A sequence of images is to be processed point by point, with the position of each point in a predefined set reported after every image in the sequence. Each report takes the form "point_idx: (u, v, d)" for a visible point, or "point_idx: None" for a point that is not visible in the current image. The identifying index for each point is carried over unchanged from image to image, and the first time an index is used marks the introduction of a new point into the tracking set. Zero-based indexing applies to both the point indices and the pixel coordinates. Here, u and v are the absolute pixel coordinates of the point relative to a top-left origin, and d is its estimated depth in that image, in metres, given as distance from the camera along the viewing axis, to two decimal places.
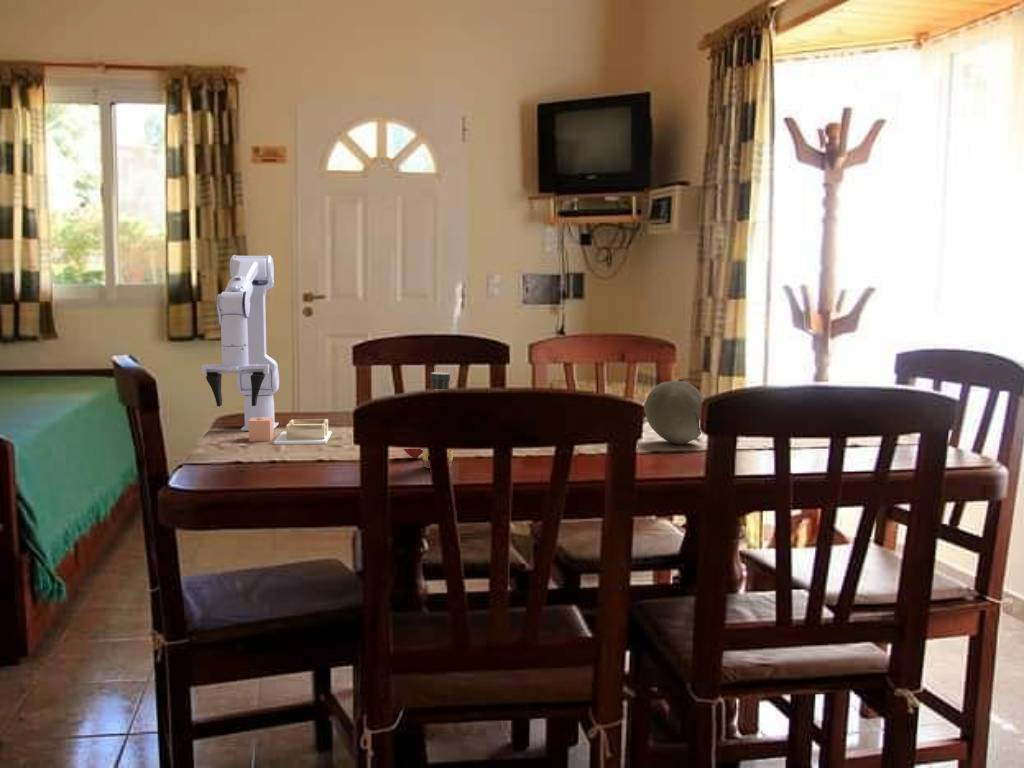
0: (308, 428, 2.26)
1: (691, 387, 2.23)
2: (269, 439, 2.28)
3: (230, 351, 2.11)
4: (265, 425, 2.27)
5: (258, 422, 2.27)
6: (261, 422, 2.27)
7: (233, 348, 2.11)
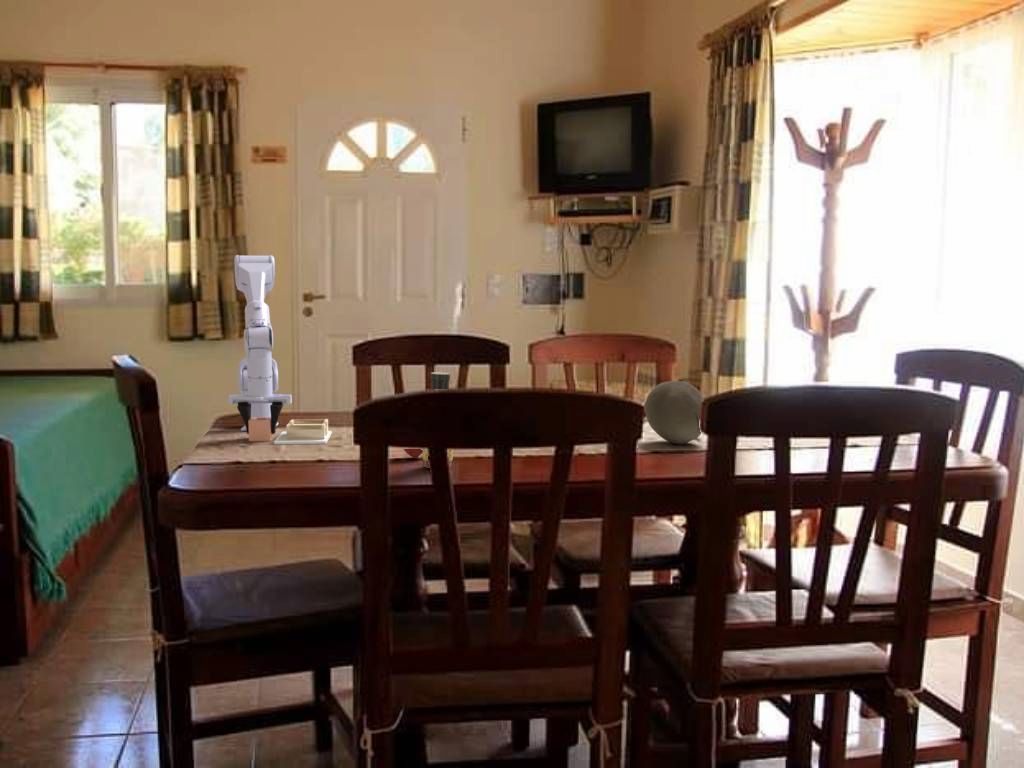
0: (308, 428, 2.26)
1: (691, 387, 2.23)
2: (269, 439, 2.28)
3: (255, 383, 2.26)
4: (265, 424, 2.27)
5: (258, 422, 2.27)
6: (261, 422, 2.27)
7: (258, 380, 2.25)
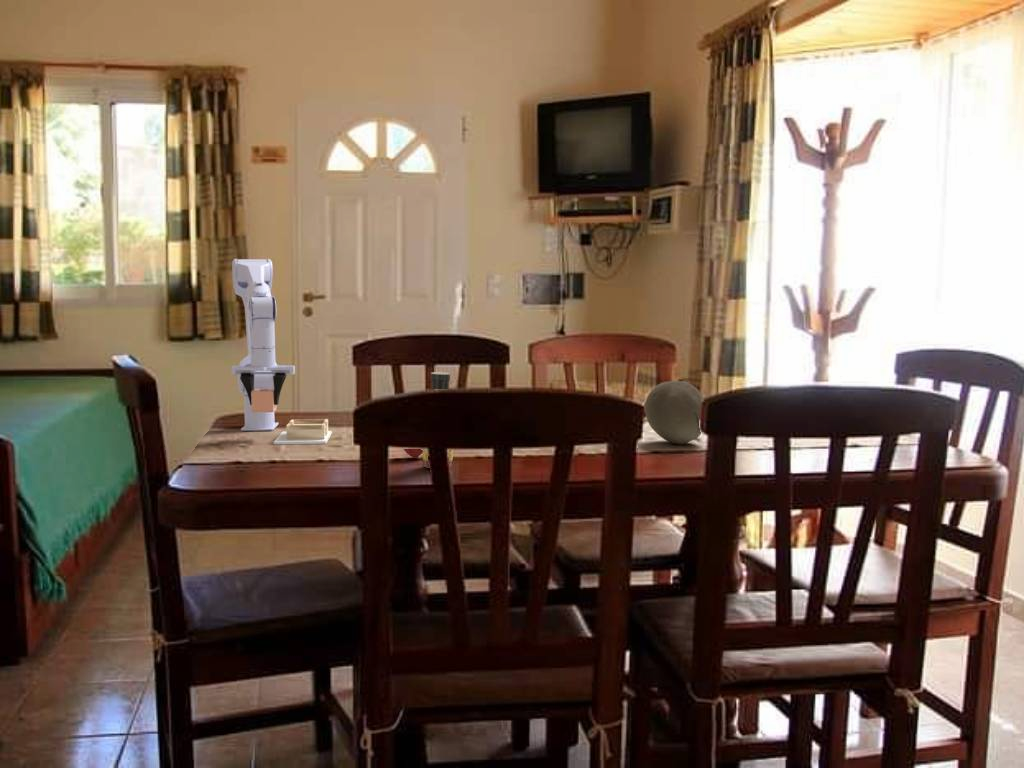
0: (308, 428, 2.26)
1: (691, 387, 2.23)
2: (272, 410, 2.27)
3: (258, 353, 2.25)
4: (268, 396, 2.26)
5: (261, 393, 2.26)
6: (264, 393, 2.26)
7: (261, 350, 2.25)
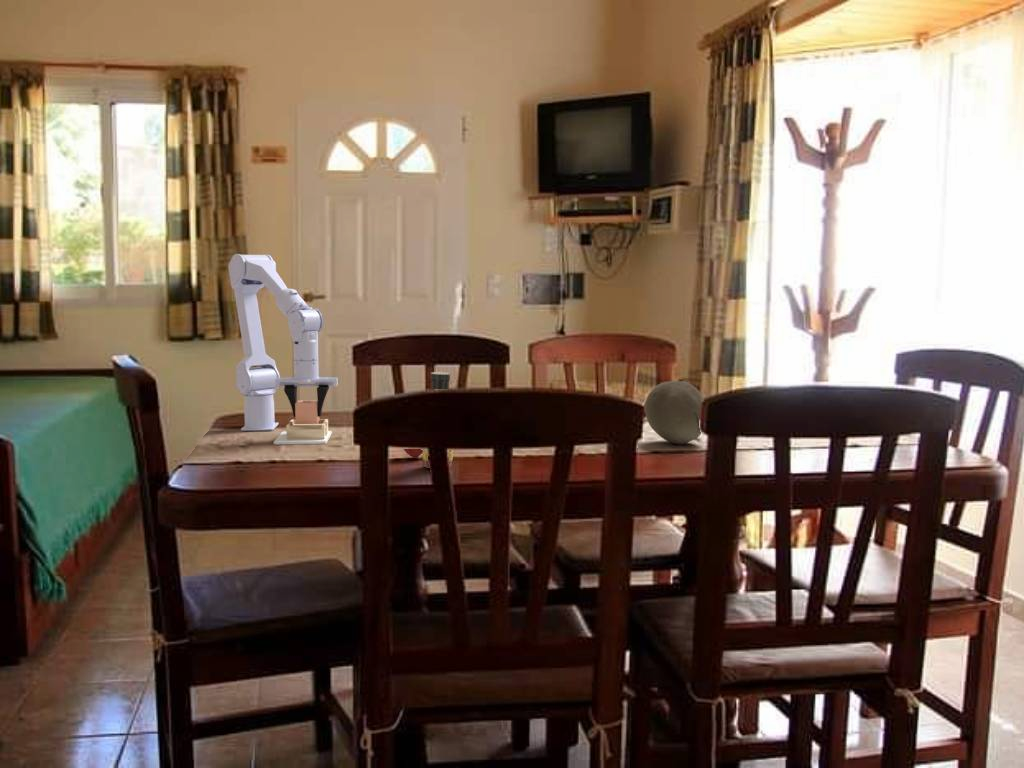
0: (308, 428, 2.26)
1: (691, 387, 2.23)
2: (316, 422, 2.28)
3: (302, 365, 2.26)
4: (312, 407, 2.28)
5: (305, 405, 2.27)
6: (308, 405, 2.27)
7: (305, 362, 2.26)
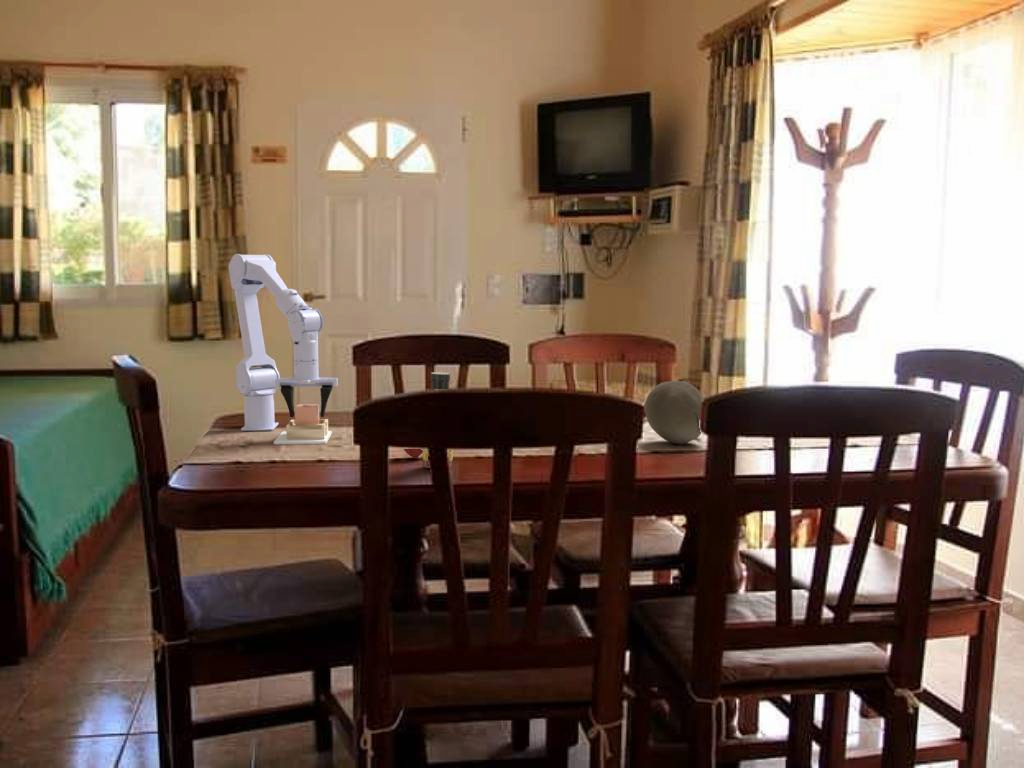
0: (308, 428, 2.26)
1: (691, 387, 2.23)
2: None
3: (302, 366, 2.26)
4: (312, 412, 2.28)
5: (305, 409, 2.28)
6: (308, 409, 2.28)
7: (305, 363, 2.26)
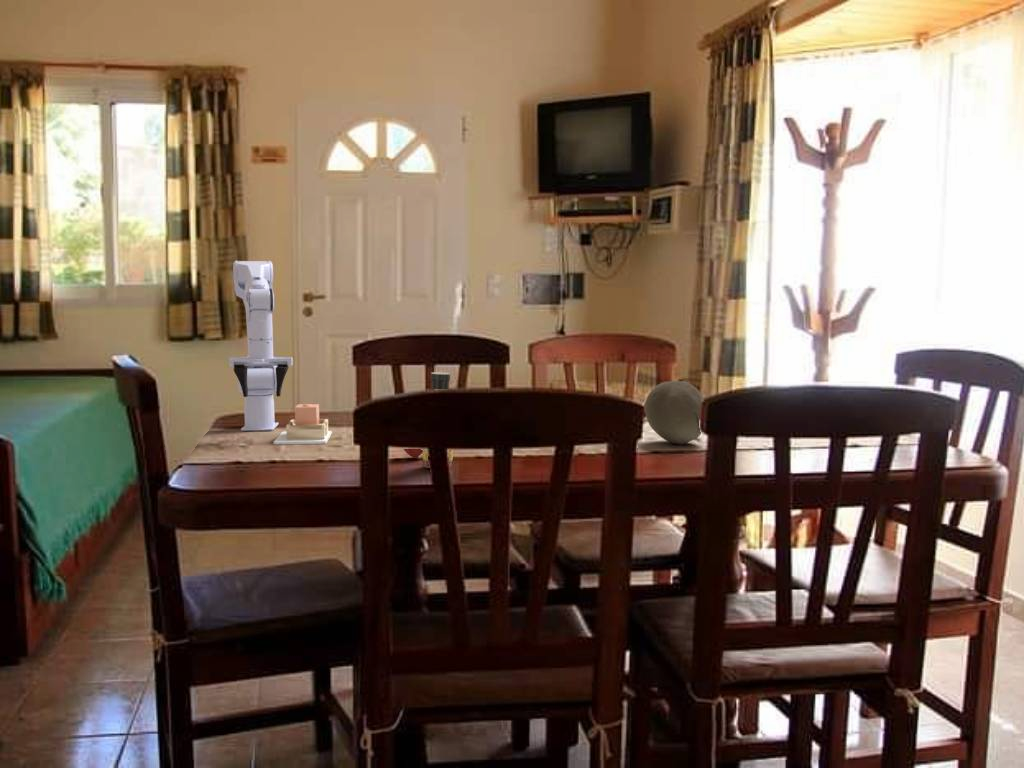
0: (308, 428, 2.26)
1: (691, 387, 2.23)
2: None
3: (256, 344, 2.25)
4: (312, 412, 2.28)
5: (305, 409, 2.28)
6: (308, 409, 2.28)
7: (259, 342, 2.25)
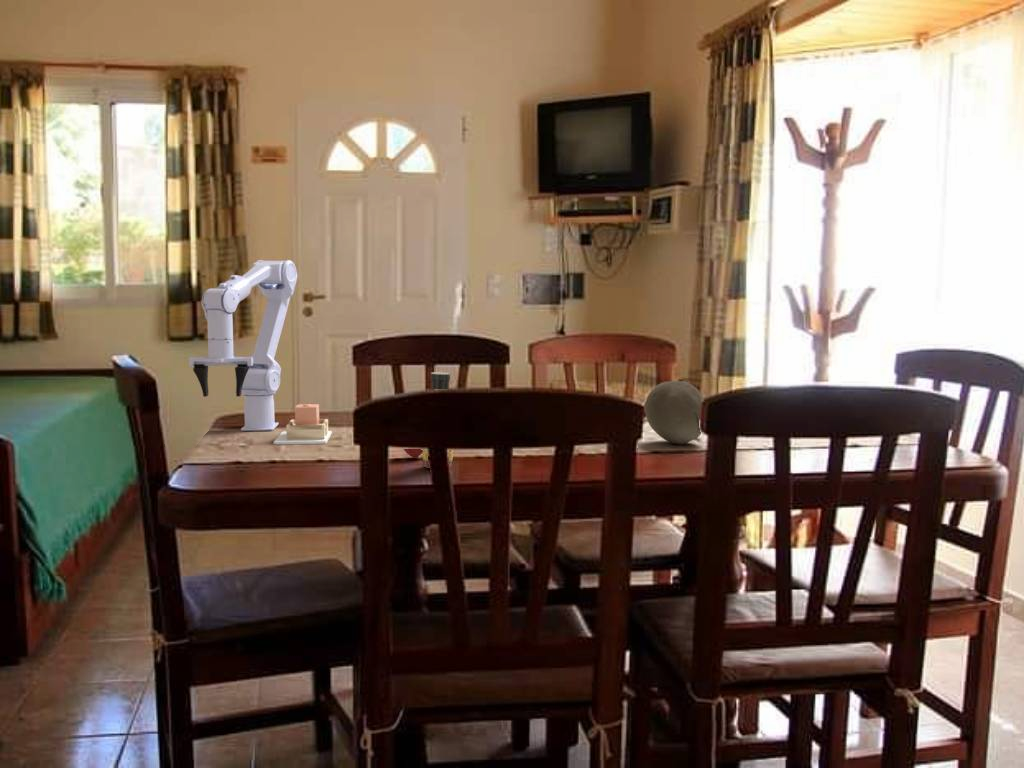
0: (308, 428, 2.26)
1: (691, 387, 2.23)
2: None
3: (216, 344, 2.25)
4: (312, 412, 2.28)
5: (305, 409, 2.28)
6: (308, 409, 2.28)
7: (219, 341, 2.25)
